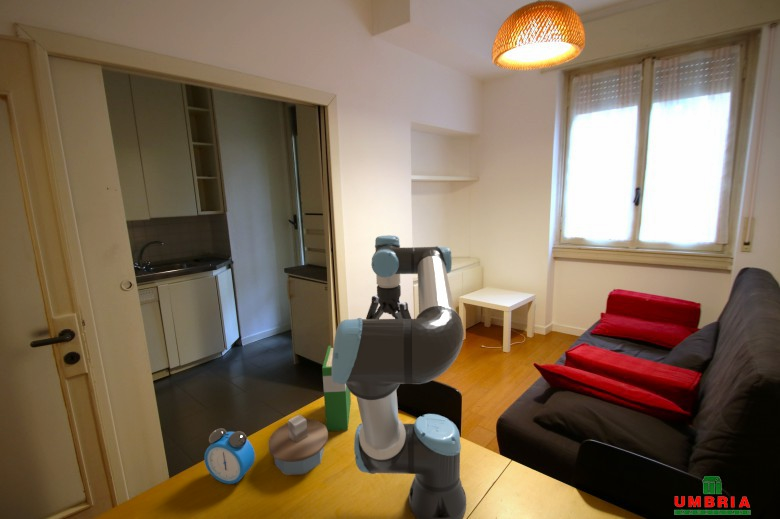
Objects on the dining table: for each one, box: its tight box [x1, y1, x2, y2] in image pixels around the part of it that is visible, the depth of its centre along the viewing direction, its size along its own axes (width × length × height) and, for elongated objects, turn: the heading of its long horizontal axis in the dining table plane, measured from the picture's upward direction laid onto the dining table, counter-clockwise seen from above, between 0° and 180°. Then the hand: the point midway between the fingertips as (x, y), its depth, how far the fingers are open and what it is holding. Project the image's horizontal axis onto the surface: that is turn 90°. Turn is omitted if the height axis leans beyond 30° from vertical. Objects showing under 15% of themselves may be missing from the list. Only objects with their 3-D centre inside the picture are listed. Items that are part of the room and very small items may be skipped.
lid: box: [268, 414, 329, 462], centre depth 113 cm, size 18×18×7 cm
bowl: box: [273, 447, 325, 476], centre depth 114 cm, size 14×14×6 cm
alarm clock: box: [203, 427, 256, 486], centre depth 106 cm, size 13×6×15 cm, turn 75°
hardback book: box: [321, 345, 352, 432], centre depth 134 cm, size 18×7×24 cm, turn 2°
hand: (390, 347), depth 119 cm, fingers open, 13 cm apart
